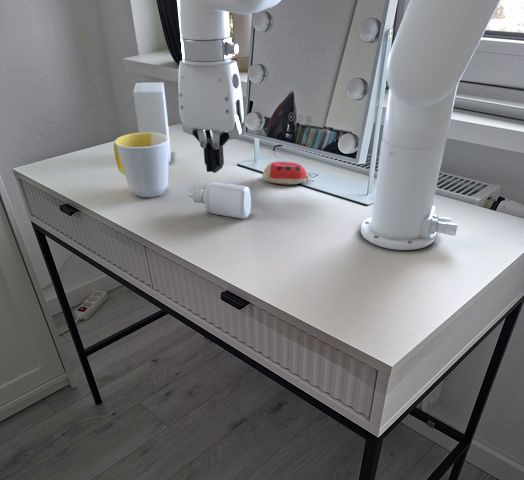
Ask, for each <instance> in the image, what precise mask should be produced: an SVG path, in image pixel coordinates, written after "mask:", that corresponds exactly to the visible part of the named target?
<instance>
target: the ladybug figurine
mask: <svg viewBox="0 0 524 480" xmlns="http://www.w3.org/2000/svg"><path fill="white" fill-rule="evenodd" d="M309 176H310V175H309V174H308V173H307V171H306V169H305V168H304V166H302V164H300V163H296V162H292V161H273V162H270V163H268V164H267V165H266V166H265V167H264V169H263V172H262V179H263V180H264V181H266V182H268V183H271V184H276V185H284V186H285V185H289V186H290V185H291V186H293V185H300V184H303V183H306V181H307V180H308V179H309Z"/></svg>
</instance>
